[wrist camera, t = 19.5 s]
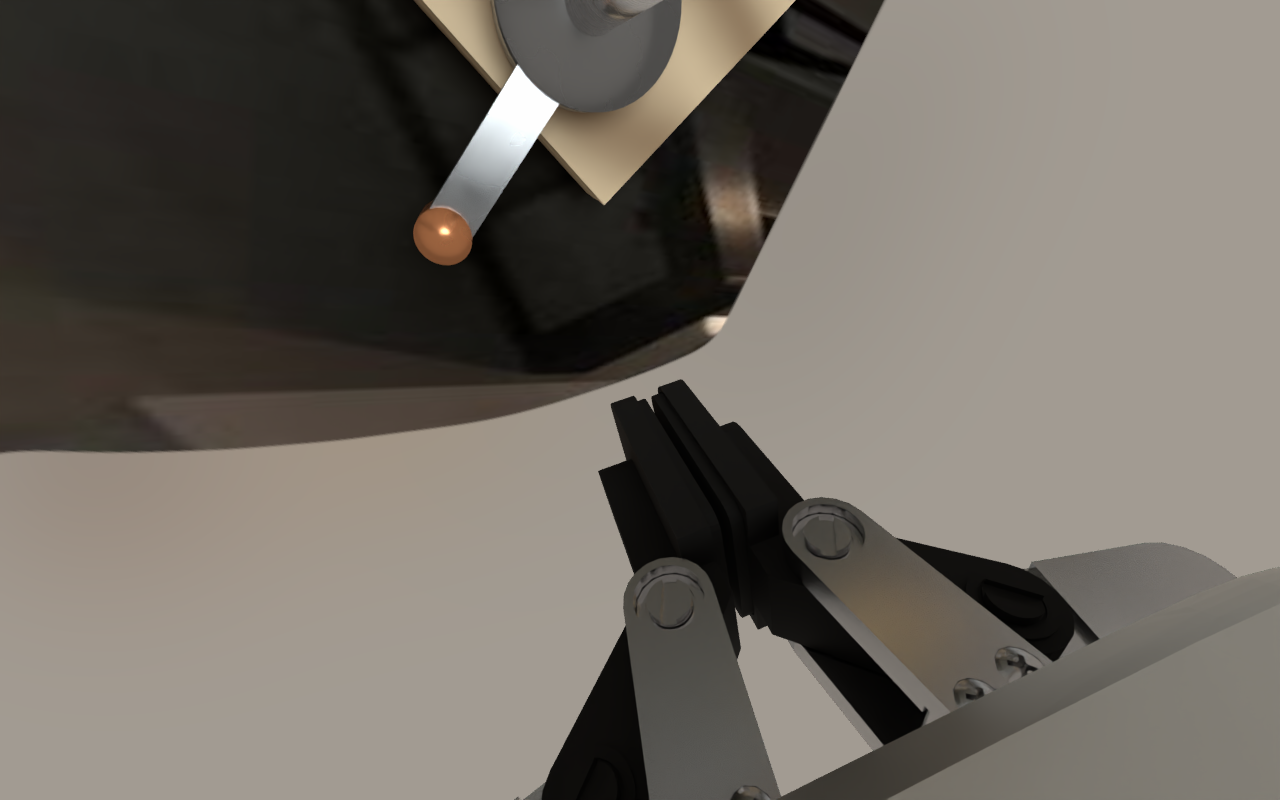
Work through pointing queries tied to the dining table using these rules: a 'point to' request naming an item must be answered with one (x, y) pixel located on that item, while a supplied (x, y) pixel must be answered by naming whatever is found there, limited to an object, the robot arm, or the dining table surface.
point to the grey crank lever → (546, 96)
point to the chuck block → (625, 138)
